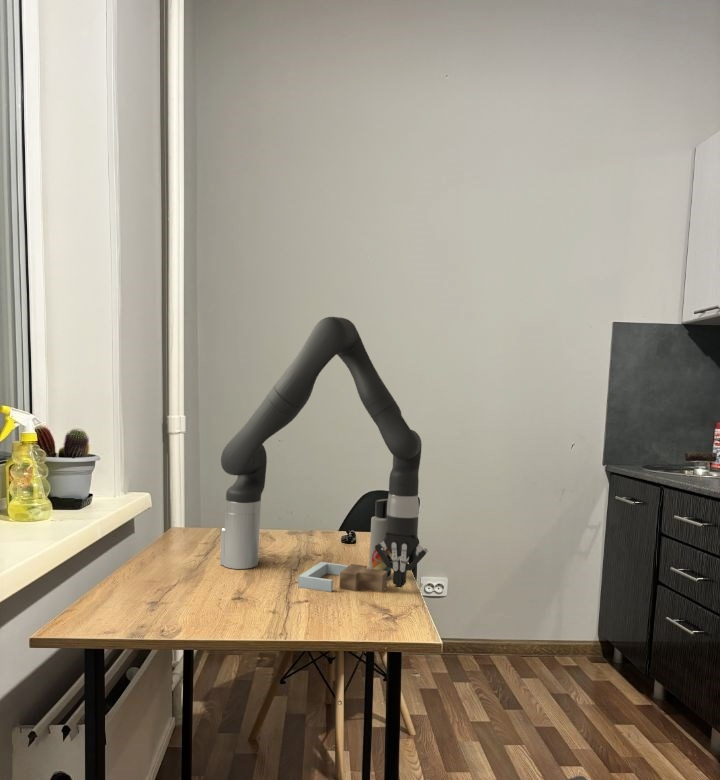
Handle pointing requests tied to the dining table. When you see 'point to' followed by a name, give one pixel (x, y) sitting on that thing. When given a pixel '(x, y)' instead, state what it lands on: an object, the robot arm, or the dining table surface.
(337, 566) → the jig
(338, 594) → the dining table surface
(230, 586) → the dining table surface
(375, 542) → the lotion bottle
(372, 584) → the t block
